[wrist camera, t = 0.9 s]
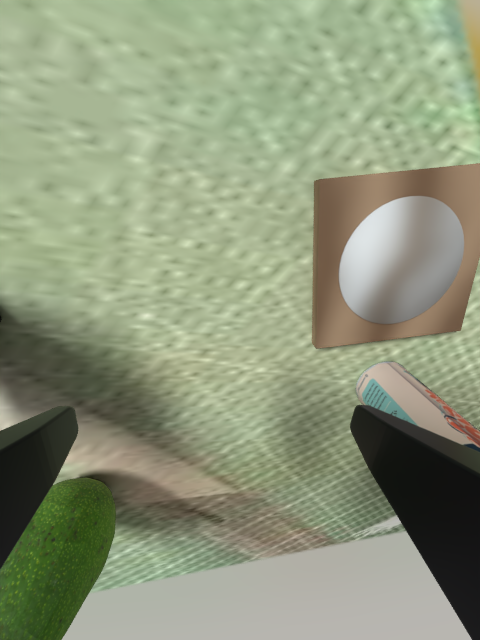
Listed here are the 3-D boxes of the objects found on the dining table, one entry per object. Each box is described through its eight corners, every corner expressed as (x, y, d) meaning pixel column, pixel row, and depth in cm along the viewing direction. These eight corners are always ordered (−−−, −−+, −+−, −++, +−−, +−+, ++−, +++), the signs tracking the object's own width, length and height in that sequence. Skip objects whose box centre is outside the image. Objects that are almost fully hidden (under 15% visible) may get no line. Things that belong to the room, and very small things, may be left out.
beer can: (406, 391, 25) (560, 538, 14) (357, 408, 25) (469, 564, 14) (401, 350, 23) (573, 481, 12) (348, 369, 23) (468, 513, 12)
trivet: (312, 342, 22) (317, 349, 21) (314, 181, 17) (321, 178, 16) (450, 325, 22) (462, 331, 21) (489, 163, 18) (507, 160, 16)
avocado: (145, 488, 27) (96, 682, 16) (87, 519, 28) (1, 722, 17) (88, 441, 24) (-23, 640, 13) (25, 478, 25) (-128, 692, 14)
